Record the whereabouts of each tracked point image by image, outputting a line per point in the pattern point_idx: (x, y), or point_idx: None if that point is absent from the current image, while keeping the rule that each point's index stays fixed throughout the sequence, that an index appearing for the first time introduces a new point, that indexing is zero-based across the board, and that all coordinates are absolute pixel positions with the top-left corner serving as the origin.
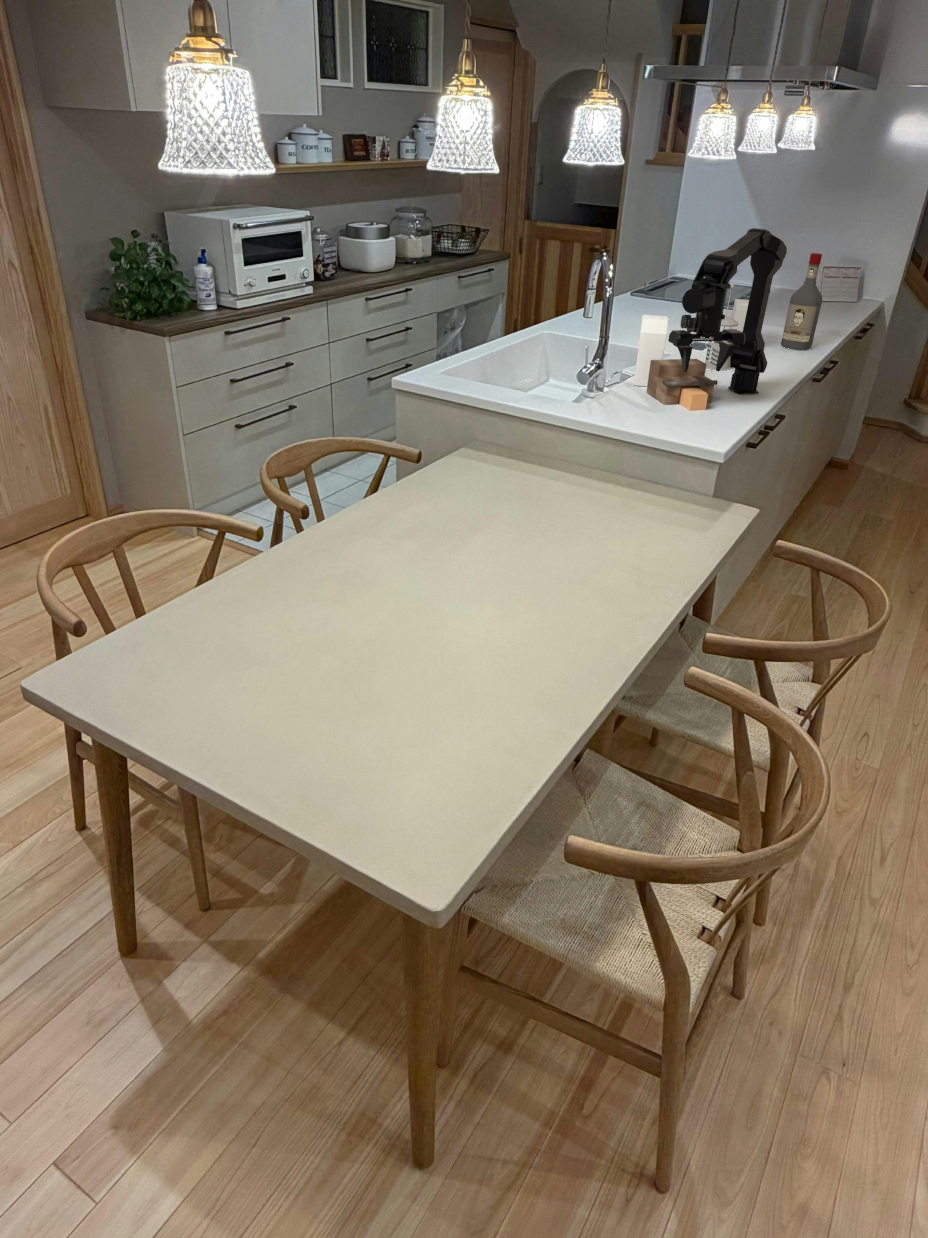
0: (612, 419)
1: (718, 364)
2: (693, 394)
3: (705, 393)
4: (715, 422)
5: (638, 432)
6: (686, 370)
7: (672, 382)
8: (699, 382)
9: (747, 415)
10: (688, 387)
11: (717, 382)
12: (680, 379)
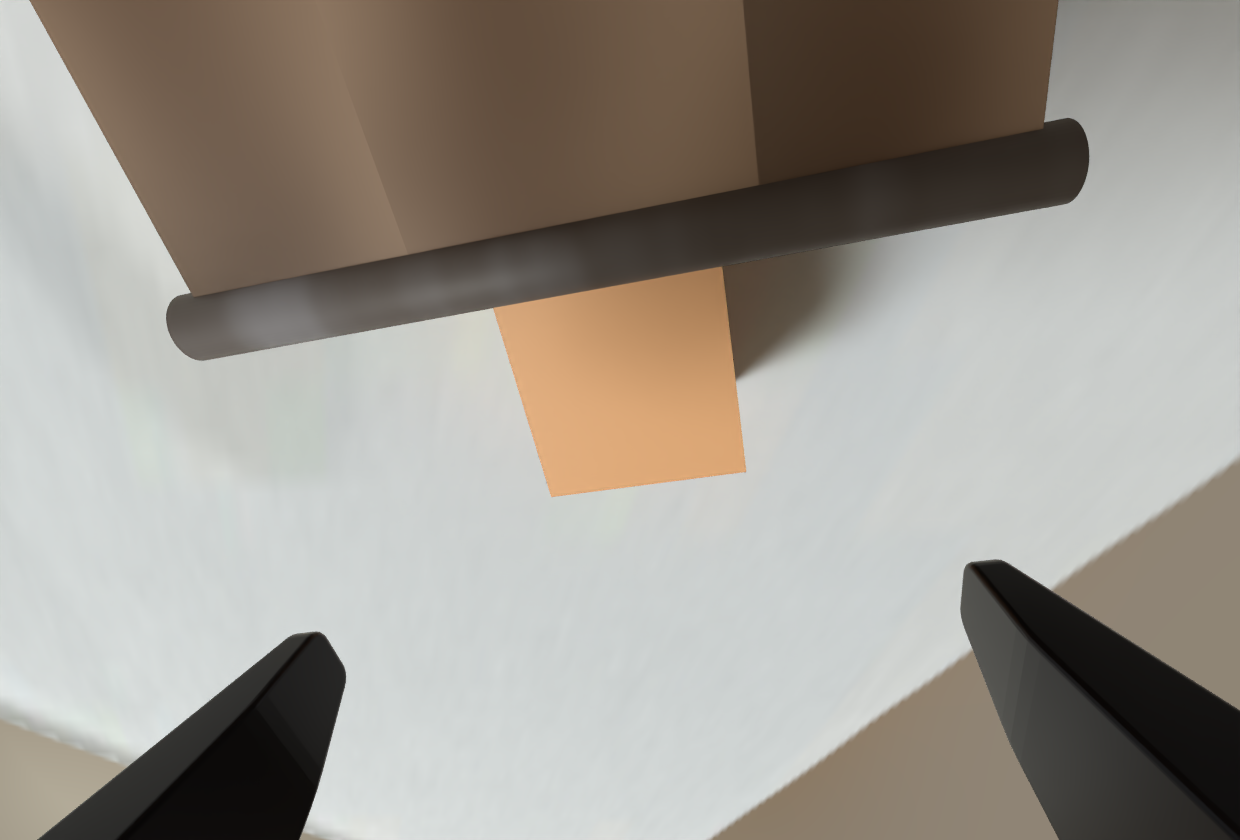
0: (7, 608)
1: (1030, 718)
2: (564, 494)
3: (720, 452)
4: (692, 649)
5: None
6: (324, 718)
7: (268, 339)
8: (711, 266)
9: (1040, 513)
10: None
11: (1058, 203)
12: (416, 48)
